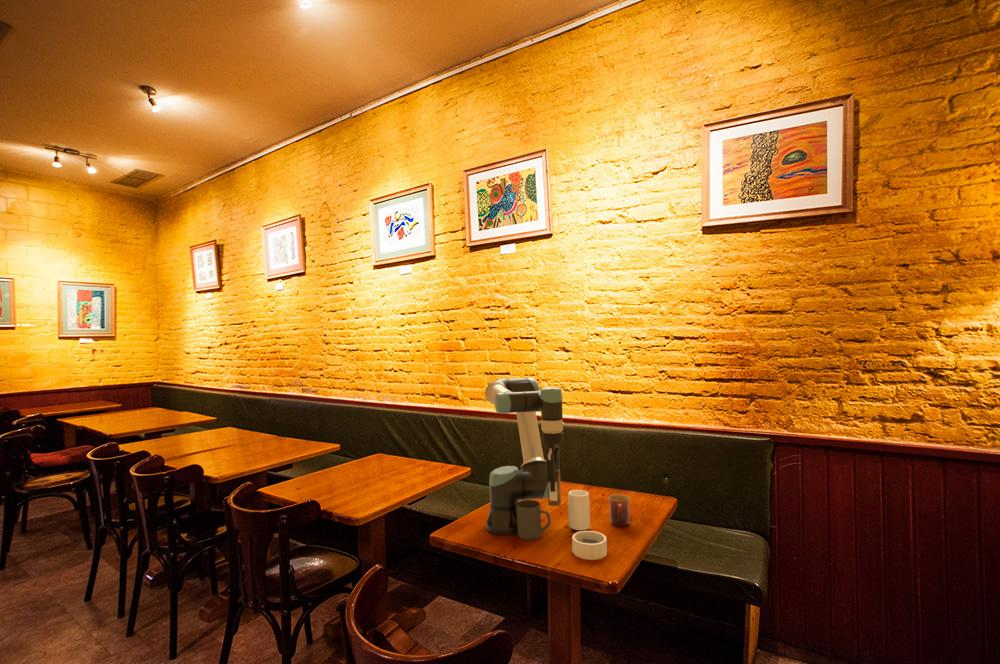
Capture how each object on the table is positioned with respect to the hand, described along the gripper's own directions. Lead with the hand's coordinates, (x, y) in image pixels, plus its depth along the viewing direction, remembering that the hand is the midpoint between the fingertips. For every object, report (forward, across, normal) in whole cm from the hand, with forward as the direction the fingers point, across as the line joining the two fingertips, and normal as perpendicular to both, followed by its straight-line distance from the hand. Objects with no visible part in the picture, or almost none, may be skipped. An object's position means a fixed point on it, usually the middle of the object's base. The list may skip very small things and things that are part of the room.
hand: (554, 498), depth 163 cm
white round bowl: (+19, +3, -11) cm, 22 cm away
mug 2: (+19, +30, -20) cm, 41 cm away
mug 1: (+19, +11, +11) cm, 24 cm away
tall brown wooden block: (+2, 0, 0) cm, 2 cm away
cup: (+19, +22, -5) cm, 29 cm away
